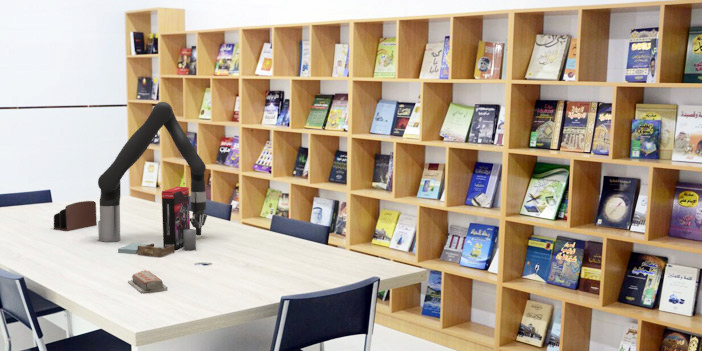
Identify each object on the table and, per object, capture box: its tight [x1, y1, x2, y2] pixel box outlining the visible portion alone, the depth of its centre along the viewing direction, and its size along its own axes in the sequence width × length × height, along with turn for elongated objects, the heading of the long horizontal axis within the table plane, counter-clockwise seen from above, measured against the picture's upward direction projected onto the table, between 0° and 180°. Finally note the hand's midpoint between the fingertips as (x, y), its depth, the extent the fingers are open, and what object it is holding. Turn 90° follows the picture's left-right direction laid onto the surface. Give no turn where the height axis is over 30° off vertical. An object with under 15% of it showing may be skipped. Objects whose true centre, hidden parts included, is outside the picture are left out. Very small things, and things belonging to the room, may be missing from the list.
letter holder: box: [53, 200, 98, 232], centre depth 398 cm, size 10×20×14 cm, turn 151°
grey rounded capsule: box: [182, 228, 197, 252], centre depth 351 cm, size 6×6×9 cm
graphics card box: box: [161, 186, 191, 251], centre depth 355 cm, size 17×7×27 cm, turn 169°
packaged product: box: [127, 269, 169, 294], centre depth 287 cm, size 18×5×10 cm
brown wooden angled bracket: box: [137, 243, 175, 258], centre depth 341 cm, size 12×11×4 cm
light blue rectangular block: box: [117, 242, 150, 255], centre depth 347 cm, size 9×13×2 cm
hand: (198, 235), depth 375 cm, fingers closed
